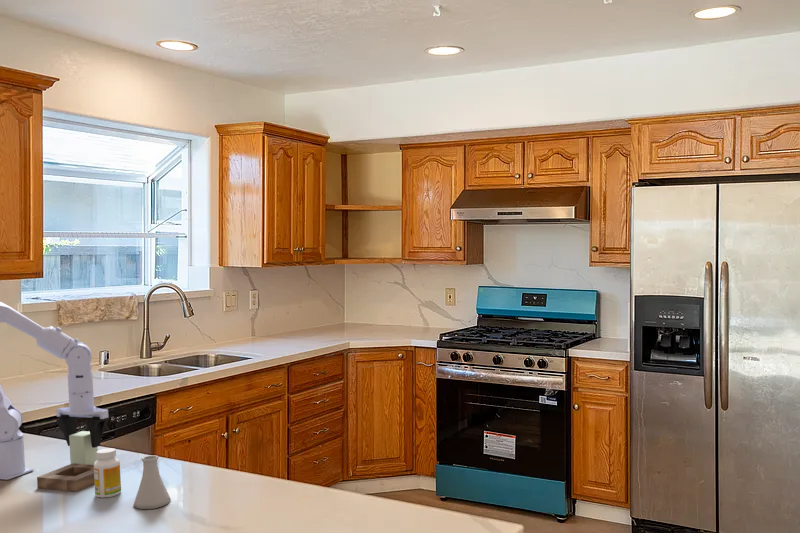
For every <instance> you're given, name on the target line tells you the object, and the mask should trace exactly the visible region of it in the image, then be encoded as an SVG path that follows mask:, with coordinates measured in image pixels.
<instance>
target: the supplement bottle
mask: <svg viewBox="0 0 800 533" xmlns="http://www.w3.org/2000/svg"><path fill="white" fill-rule="evenodd" d="M116 450H117V449H116V448H112V447H110V448H108V447H107V448H102V449H98V451H97V452H96V457H97V459H98V460H97V461H96V462H95V463H94V483H95V484H94V496H95V497H97V498H99V497H100V499H101V498H103V499H105V498H113V497H115V496H118V495H120V494H121V492H122V481H121V479H122V478H121V463H120V459H118V458H116V456H117V453H116V452H117V451H116Z"/></svg>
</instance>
